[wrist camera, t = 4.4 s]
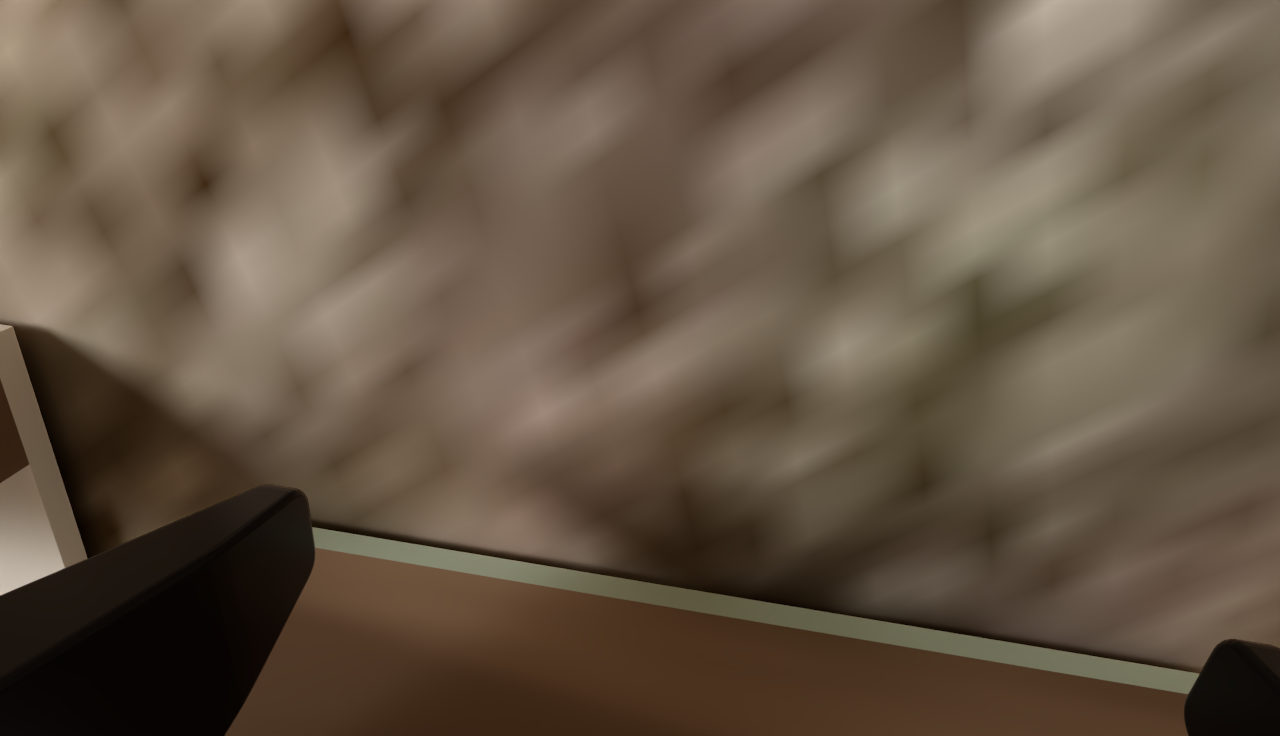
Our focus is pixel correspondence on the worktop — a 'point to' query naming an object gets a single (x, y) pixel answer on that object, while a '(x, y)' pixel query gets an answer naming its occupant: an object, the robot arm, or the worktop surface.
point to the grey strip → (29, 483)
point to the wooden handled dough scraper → (651, 662)
